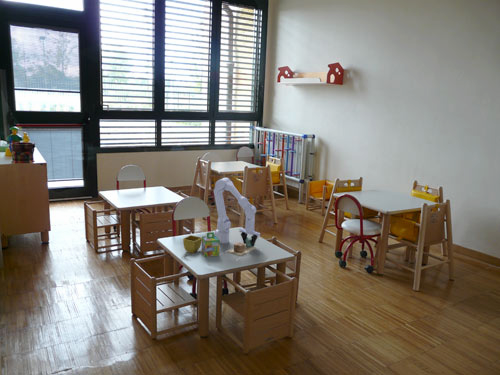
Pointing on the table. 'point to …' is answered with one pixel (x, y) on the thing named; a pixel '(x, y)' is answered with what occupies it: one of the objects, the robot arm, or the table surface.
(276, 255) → the table surface
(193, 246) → the flower pot
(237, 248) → the walnut cube
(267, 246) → the table surface
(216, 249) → the chalk box
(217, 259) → the table surface
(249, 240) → the wooden tray
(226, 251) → the lane rails
